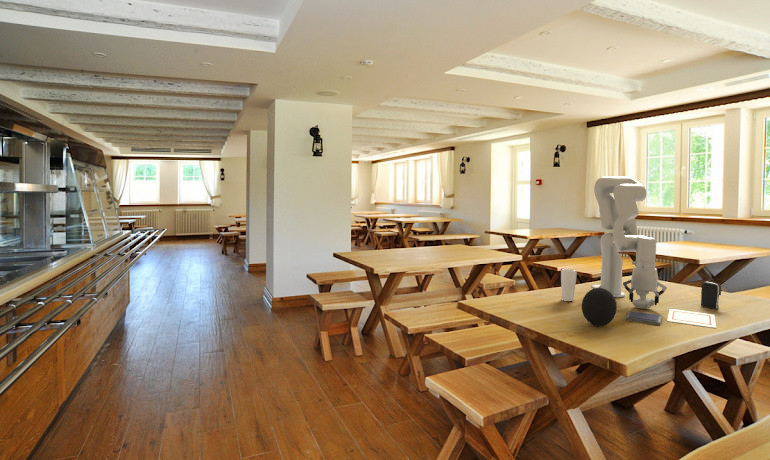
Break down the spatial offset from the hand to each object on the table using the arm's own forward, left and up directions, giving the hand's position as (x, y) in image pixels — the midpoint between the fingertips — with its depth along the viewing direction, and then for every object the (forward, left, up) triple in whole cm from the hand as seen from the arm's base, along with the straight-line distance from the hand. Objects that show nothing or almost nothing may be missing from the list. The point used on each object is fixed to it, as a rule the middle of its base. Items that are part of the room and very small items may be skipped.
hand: (643, 303), depth 199 cm
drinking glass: (-31, -4, -3) cm, 32 cm away
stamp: (0, +1, -3) cm, 3 cm away
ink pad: (+2, -18, -3) cm, 19 cm away
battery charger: (+25, +21, -3) cm, 32 cm away
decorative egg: (-12, -38, -3) cm, 40 cm away
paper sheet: (+18, -5, -3) cm, 19 cm away
